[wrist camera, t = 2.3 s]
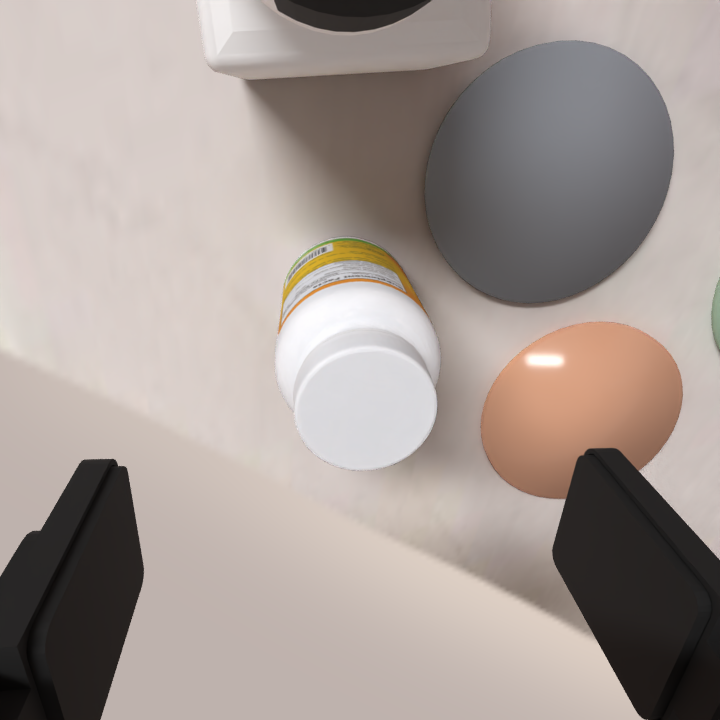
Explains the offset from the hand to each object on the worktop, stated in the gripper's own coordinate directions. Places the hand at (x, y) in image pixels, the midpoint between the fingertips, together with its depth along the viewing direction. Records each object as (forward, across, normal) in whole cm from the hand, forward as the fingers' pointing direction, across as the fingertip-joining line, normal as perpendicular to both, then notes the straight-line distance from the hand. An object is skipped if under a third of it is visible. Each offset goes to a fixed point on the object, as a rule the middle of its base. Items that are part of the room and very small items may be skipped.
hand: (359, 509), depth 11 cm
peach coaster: (+14, -13, +6) cm, 20 cm away
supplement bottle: (+14, -1, 0) cm, 14 cm away
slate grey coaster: (+14, -9, -5) cm, 17 cm away
